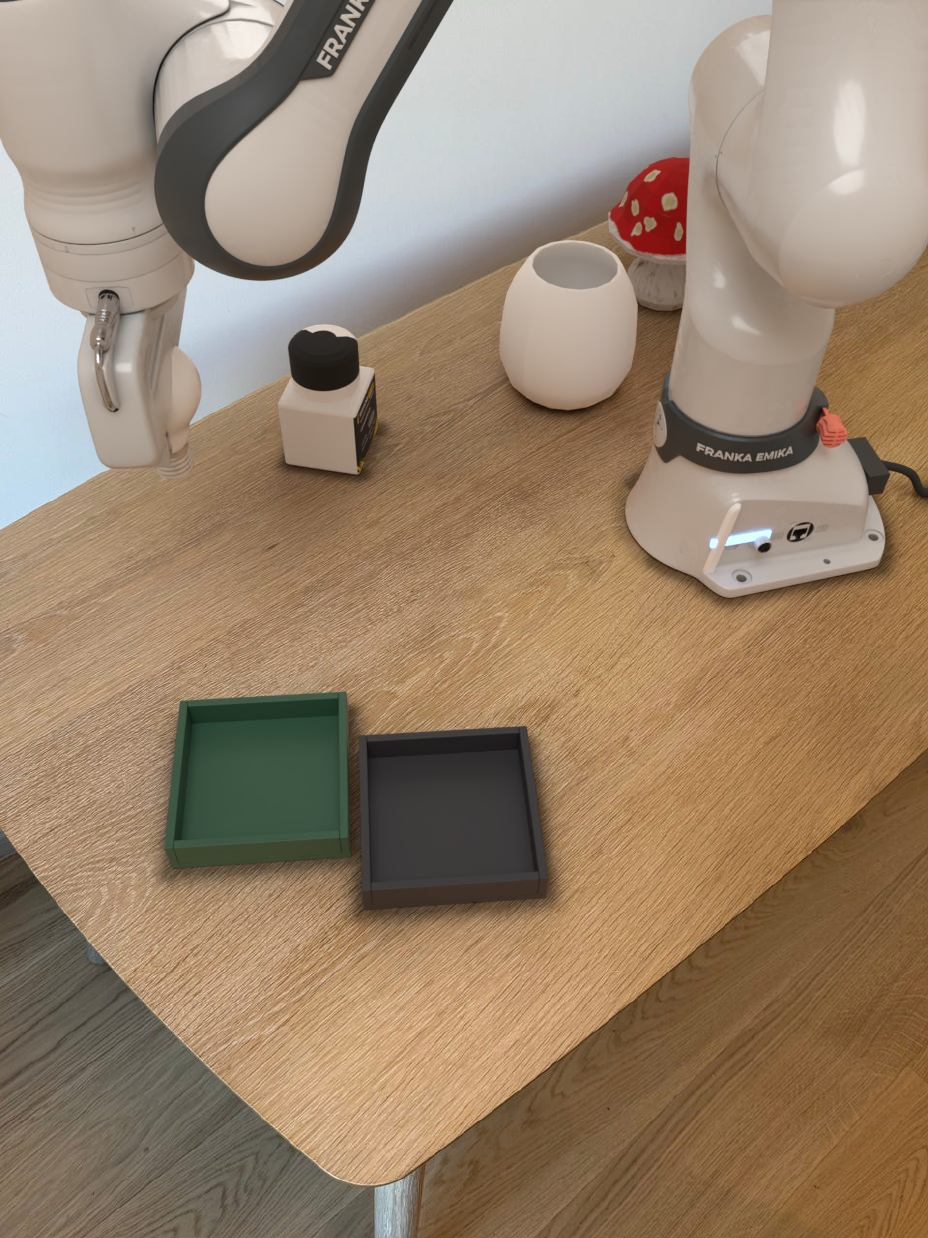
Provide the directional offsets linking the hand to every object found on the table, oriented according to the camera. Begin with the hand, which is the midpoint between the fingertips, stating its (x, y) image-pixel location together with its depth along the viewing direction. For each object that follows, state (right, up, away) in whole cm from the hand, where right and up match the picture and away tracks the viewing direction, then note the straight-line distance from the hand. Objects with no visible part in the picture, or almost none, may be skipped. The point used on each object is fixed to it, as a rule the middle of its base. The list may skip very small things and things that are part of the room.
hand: (164, 428), depth 77 cm
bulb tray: (+7, -25, +3) cm, 26 cm away
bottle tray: (+20, -28, +1) cm, 34 cm away
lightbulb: (0, -3, +3) cm, 4 cm away
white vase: (+31, +10, +34) cm, 47 cm away
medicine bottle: (+9, +3, +27) cm, 28 cm away
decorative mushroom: (+43, +22, +44) cm, 65 cm away
